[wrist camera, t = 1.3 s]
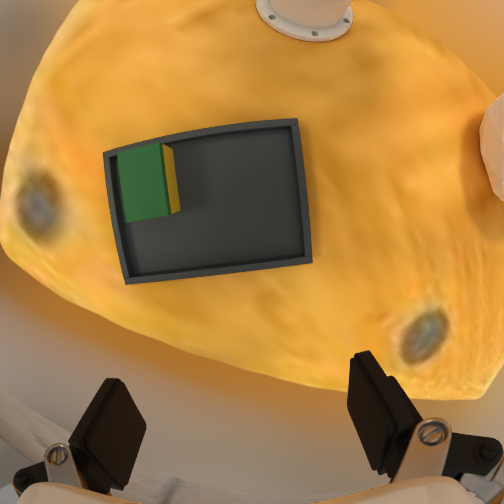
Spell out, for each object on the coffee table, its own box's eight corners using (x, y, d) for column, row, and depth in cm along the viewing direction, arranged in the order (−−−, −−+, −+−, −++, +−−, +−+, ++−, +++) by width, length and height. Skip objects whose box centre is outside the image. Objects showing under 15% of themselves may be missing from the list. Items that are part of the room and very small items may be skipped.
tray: (110, 153, 28) (102, 152, 26) (294, 122, 28) (297, 118, 26) (131, 279, 31) (125, 284, 29) (308, 258, 31) (312, 263, 29)
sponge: (135, 156, 27) (116, 152, 23) (172, 148, 27) (159, 142, 23) (143, 216, 29) (126, 223, 24) (181, 210, 29) (168, 215, 24)
